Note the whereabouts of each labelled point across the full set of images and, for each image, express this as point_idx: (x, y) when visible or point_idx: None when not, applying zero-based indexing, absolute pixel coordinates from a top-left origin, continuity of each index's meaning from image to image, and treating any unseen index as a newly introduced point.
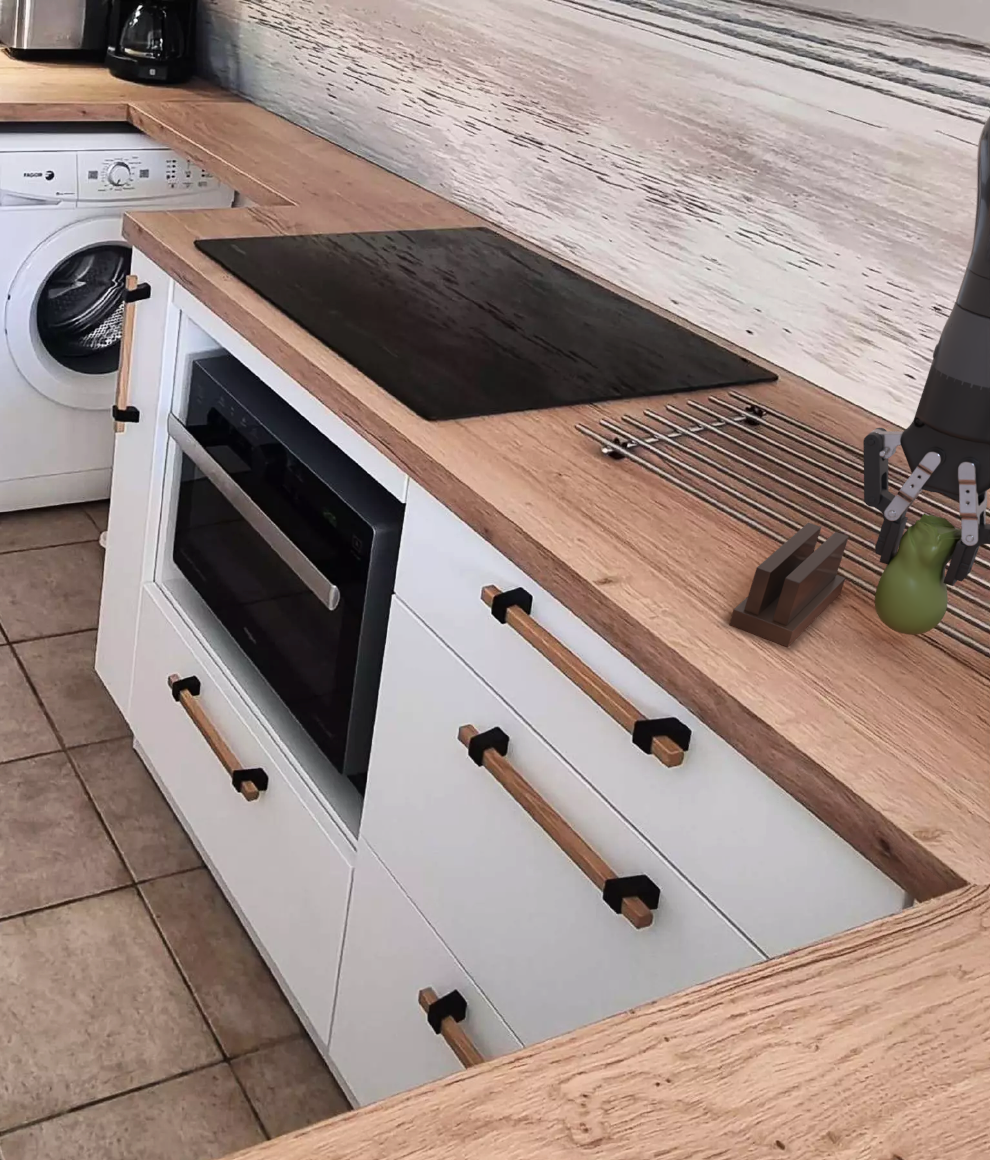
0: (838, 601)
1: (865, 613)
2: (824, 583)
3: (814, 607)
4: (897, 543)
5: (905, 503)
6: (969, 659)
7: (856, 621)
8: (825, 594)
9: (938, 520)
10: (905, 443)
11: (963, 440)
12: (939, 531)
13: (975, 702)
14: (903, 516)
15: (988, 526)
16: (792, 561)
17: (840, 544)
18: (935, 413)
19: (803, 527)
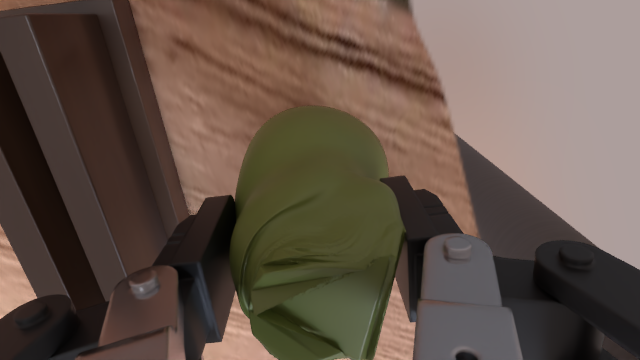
0: (150, 43)
1: (211, 47)
2: (121, 116)
3: (167, 195)
4: (227, 244)
5: None
6: (422, 59)
7: (219, 99)
8: (143, 123)
9: (311, 288)
10: None
11: None
12: (346, 340)
13: (467, 200)
14: (198, 313)
15: (521, 332)
16: (58, 217)
17: (59, 95)
18: None
19: None
